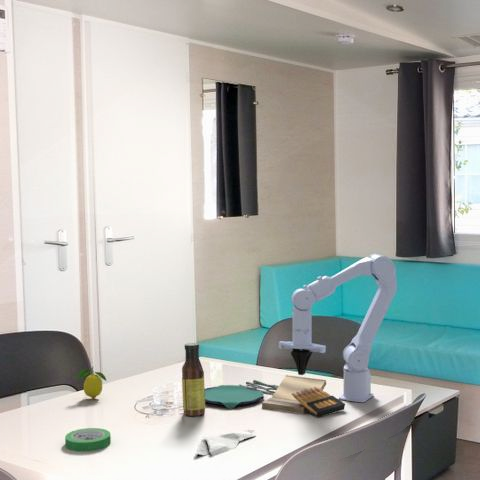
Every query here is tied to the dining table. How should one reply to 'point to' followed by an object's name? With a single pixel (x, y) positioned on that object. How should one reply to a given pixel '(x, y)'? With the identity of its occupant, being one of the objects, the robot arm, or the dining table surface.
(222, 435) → the cloth
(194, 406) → the sauce bottle
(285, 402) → the floor row
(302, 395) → the ammunition clip
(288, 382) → the plank
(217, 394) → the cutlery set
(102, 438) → the tape roll
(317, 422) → the dining table surface
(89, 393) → the lemon
